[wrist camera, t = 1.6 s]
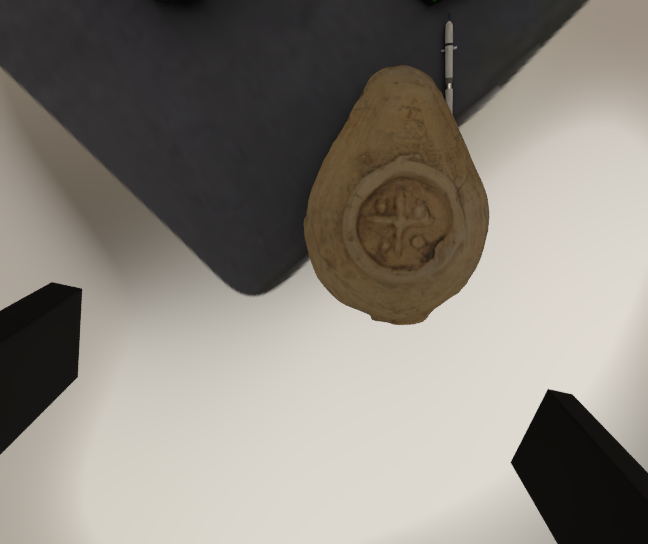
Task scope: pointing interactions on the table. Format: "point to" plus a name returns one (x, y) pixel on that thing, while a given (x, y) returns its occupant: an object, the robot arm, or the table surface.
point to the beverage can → (171, 1)
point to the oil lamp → (397, 203)
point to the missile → (449, 63)
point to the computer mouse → (431, 2)
